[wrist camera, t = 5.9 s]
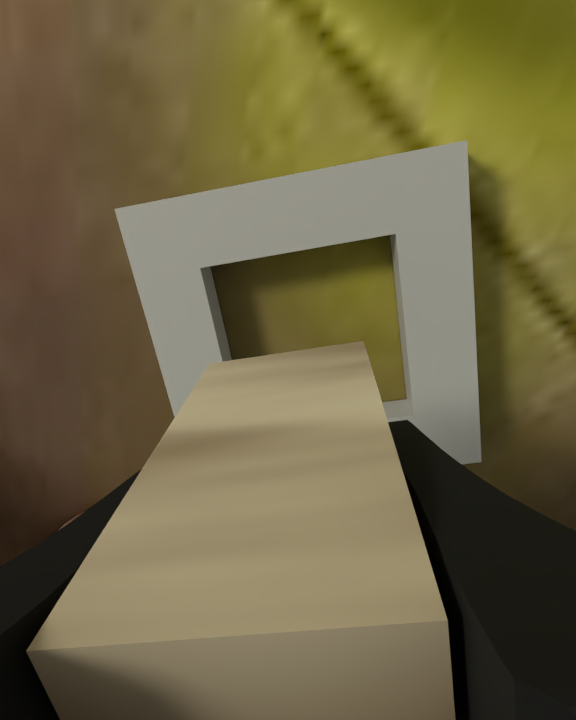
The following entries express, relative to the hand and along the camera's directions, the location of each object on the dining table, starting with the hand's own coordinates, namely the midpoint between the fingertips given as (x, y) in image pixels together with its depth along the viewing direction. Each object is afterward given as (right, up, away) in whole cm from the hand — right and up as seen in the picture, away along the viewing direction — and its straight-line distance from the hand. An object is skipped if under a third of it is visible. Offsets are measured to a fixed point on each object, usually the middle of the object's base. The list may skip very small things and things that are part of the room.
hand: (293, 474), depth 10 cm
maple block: (0, +1, +2) cm, 2 cm away
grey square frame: (+1, +4, +9) cm, 9 cm away
